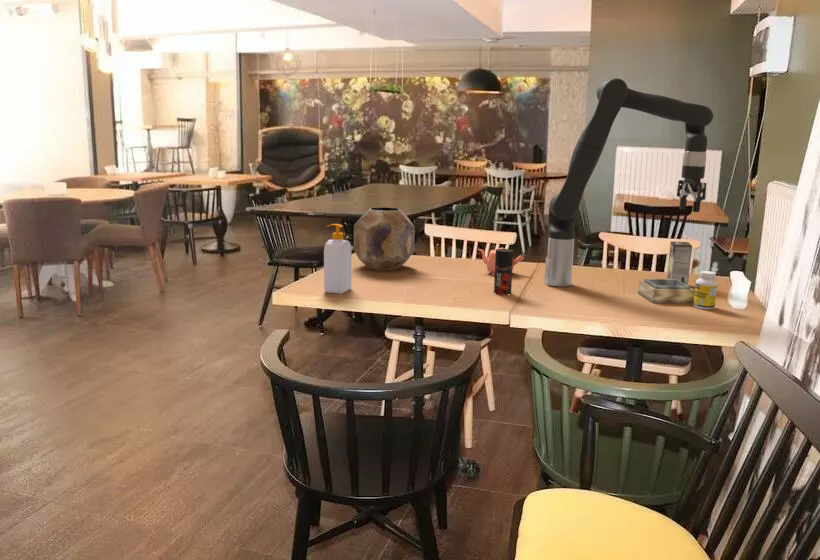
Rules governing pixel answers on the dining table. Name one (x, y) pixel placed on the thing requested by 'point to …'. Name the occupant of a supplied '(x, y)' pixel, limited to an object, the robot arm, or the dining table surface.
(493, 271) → the teapot
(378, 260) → the planter
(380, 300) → the dining table surface
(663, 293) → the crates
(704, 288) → the pill bottle
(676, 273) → the coffee box
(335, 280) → the soap bottle
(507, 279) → the deodorant
